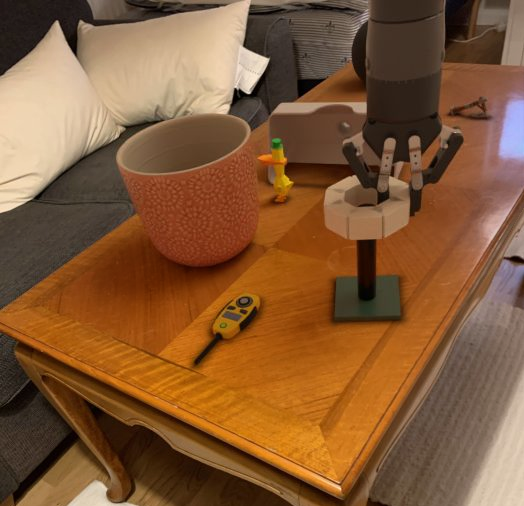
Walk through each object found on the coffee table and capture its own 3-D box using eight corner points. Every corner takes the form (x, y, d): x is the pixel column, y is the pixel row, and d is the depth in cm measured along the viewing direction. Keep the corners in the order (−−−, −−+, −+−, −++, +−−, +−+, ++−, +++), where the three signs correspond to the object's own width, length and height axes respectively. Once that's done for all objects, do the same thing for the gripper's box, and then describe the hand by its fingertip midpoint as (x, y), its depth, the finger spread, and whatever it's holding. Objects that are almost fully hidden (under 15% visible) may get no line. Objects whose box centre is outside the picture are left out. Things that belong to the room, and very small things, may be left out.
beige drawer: (410, 151, 105) (414, 86, 96) (394, 192, 95) (396, 123, 86) (294, 148, 114) (287, 89, 105) (268, 185, 104) (258, 122, 95)
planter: (193, 208, 102) (166, 110, 88) (288, 222, 93) (274, 115, 80) (129, 271, 90) (87, 167, 76) (231, 293, 81) (204, 181, 68)
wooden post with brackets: (490, 117, 108) (484, 96, 106) (455, 128, 114) (449, 107, 112) (494, 114, 109) (488, 92, 107) (459, 124, 115) (453, 104, 113)
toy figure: (260, 204, 99) (250, 143, 91) (268, 194, 101) (259, 134, 93) (292, 208, 96) (285, 145, 88) (300, 198, 99) (293, 136, 90)
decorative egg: (405, 74, 134) (408, 7, 124) (396, 93, 127) (398, 23, 116) (358, 76, 139) (357, 11, 128) (346, 94, 131) (344, 27, 120)
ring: (390, 186, 69) (390, 165, 67) (426, 227, 62) (428, 204, 60) (313, 206, 69) (311, 185, 67) (340, 250, 61) (338, 228, 59)
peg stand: (397, 281, 77) (401, 187, 67) (400, 322, 71) (405, 226, 61) (336, 283, 79) (331, 192, 68) (334, 323, 73) (328, 230, 62)
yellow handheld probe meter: (265, 295, 77) (206, 363, 68) (267, 305, 78) (209, 372, 70) (239, 287, 79) (178, 352, 71) (241, 297, 80) (182, 362, 72)
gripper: (471, 43, 54) (453, 195, 66) (335, 59, 56) (342, 202, 68) (483, 68, 48) (461, 227, 61) (333, 84, 51) (340, 234, 63)
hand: (398, 213), depth 64 cm, fingers closed on ring, 2 cm apart
